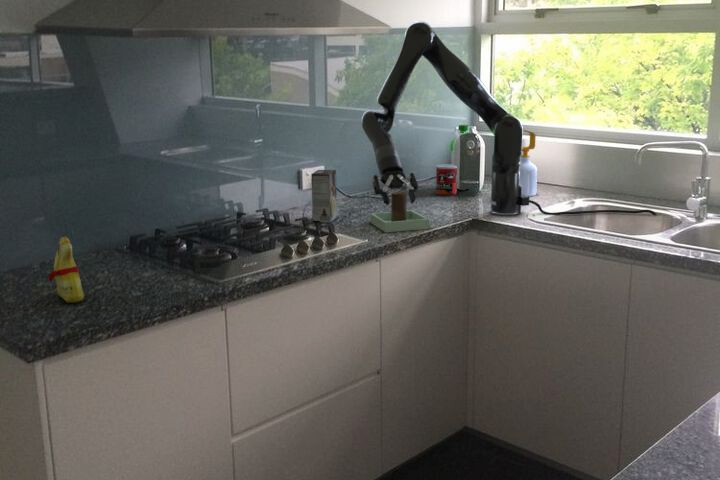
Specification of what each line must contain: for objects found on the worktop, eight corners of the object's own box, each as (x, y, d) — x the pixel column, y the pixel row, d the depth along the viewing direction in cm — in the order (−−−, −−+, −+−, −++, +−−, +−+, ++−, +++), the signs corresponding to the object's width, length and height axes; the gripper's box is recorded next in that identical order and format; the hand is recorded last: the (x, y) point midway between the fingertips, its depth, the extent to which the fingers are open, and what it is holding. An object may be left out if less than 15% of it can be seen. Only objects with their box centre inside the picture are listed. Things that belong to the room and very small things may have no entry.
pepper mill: (403, 221, 269) (403, 191, 266) (408, 224, 264) (408, 193, 262) (389, 222, 267) (389, 192, 265) (394, 225, 263) (394, 194, 260)
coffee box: (319, 216, 281) (317, 169, 277) (337, 216, 279) (336, 169, 276) (312, 222, 272) (310, 173, 268) (331, 222, 271) (330, 174, 267)
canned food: (432, 195, 314) (432, 166, 312) (442, 191, 321) (442, 163, 318) (450, 196, 310) (451, 167, 308) (460, 193, 317) (460, 164, 314)
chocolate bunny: (73, 290, 202) (67, 230, 199) (88, 301, 194) (82, 239, 190) (44, 295, 198) (38, 235, 195) (58, 307, 190) (52, 244, 186)
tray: (412, 219, 275) (412, 210, 274) (428, 228, 261) (428, 219, 260) (370, 222, 270) (370, 213, 270) (385, 232, 257) (385, 222, 256)
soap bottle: (507, 193, 317) (510, 128, 311) (529, 191, 319) (532, 127, 313) (517, 197, 308) (520, 131, 302) (540, 196, 310) (543, 130, 304)
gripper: (370, 155, 265) (382, 197, 257) (411, 153, 269) (424, 194, 262) (365, 169, 272) (376, 211, 264) (406, 167, 276) (418, 207, 268)
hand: (400, 202), depth 263 cm, fingers open, 8 cm apart
